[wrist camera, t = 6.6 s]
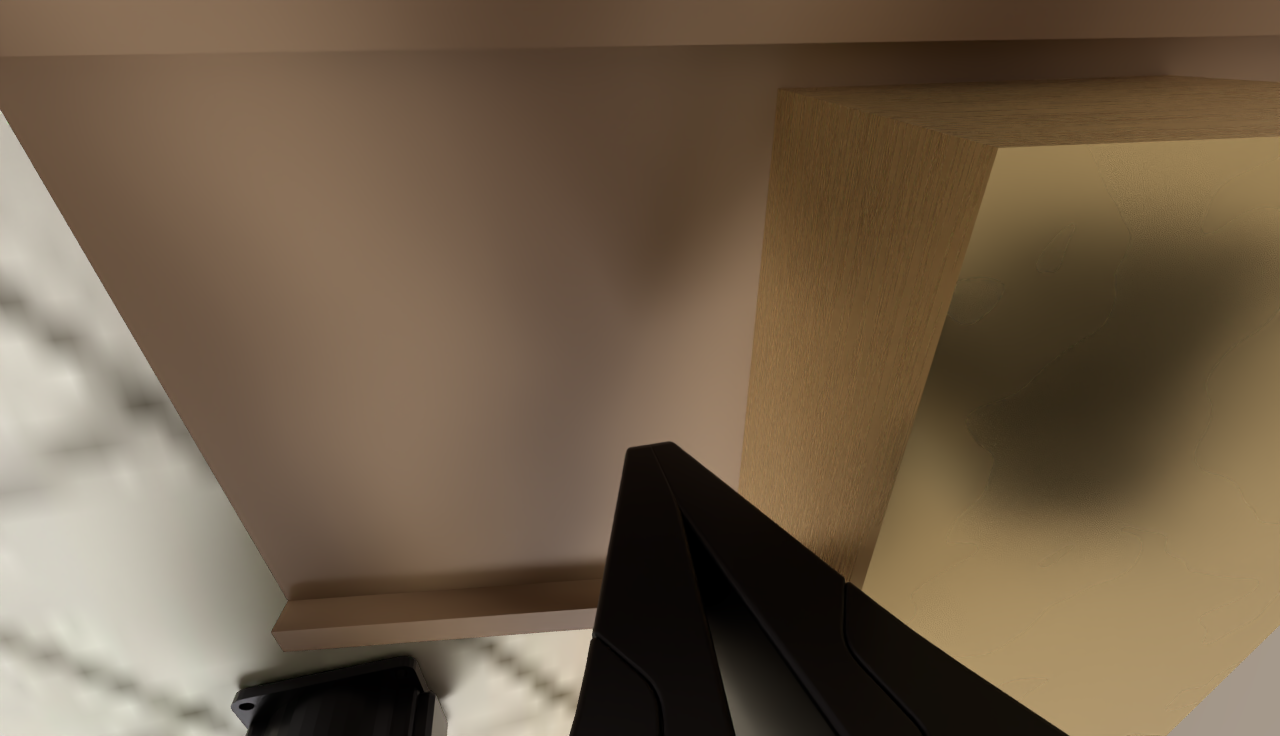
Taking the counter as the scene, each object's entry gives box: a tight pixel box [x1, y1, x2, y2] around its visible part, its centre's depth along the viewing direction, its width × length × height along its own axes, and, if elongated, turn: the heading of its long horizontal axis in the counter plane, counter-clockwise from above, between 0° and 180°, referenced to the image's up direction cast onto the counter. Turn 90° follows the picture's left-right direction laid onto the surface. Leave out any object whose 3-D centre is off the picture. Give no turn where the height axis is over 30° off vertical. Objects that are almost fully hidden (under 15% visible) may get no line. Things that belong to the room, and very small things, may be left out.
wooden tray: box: [0, 0, 1280, 652], centre depth 11 cm, size 26×15×4 cm, turn 91°
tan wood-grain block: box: [738, 75, 1280, 736], centre depth 8 cm, size 6×10×5 cm, turn 1°
